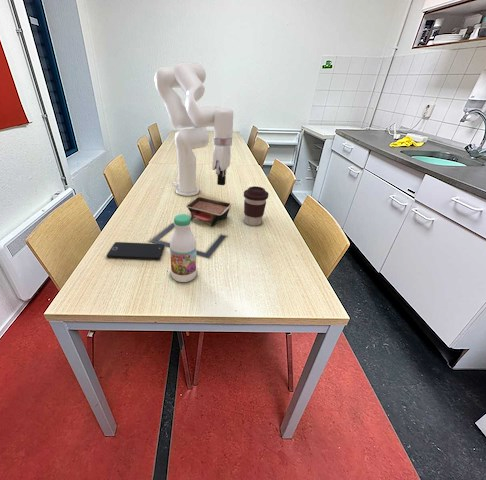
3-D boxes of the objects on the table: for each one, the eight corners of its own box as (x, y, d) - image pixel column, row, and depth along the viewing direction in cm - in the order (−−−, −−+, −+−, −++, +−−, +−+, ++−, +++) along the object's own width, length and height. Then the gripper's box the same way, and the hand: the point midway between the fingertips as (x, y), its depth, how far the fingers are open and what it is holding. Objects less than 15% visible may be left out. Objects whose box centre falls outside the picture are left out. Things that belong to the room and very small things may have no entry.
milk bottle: (171, 267, 87) (168, 211, 77) (195, 267, 88) (195, 211, 78) (171, 283, 81) (167, 223, 70) (196, 282, 81) (197, 223, 71)
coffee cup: (265, 219, 119) (270, 186, 111) (262, 229, 111) (267, 195, 103) (243, 215, 122) (247, 183, 114) (238, 225, 114) (241, 191, 106)
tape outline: (150, 241, 101) (150, 241, 101) (172, 223, 114) (172, 223, 114) (208, 257, 93) (208, 257, 93) (225, 236, 106) (225, 236, 105)
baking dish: (215, 235, 110) (220, 213, 105) (180, 218, 116) (183, 197, 111) (231, 224, 121) (236, 204, 116) (198, 209, 128) (202, 189, 122)
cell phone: (115, 244, 99) (115, 241, 98) (164, 246, 98) (164, 243, 97) (106, 257, 91) (106, 255, 90) (159, 260, 90) (159, 257, 90)
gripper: (221, 138, 119) (219, 179, 128) (207, 143, 107) (206, 188, 116) (237, 139, 116) (234, 181, 125) (224, 145, 104) (222, 191, 114)
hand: (221, 184), depth 121 cm, fingers closed
